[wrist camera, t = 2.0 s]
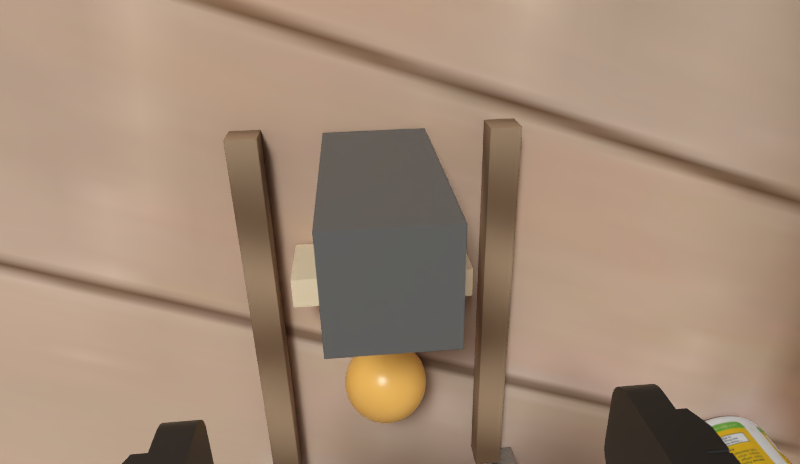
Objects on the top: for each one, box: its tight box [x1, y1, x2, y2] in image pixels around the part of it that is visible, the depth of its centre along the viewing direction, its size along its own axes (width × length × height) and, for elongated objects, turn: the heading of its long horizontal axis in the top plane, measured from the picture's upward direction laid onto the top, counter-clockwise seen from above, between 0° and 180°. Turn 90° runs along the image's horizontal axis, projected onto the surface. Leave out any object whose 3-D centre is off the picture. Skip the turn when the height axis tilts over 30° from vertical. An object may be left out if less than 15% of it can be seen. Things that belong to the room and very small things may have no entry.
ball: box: [346, 353, 426, 423], centre depth 27 cm, size 4×4×4 cm
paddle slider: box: [291, 128, 473, 359], centre depth 21 cm, size 6×7×9 cm
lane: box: [223, 119, 522, 464], centre depth 27 cm, size 17×11×1 cm, turn 1°
